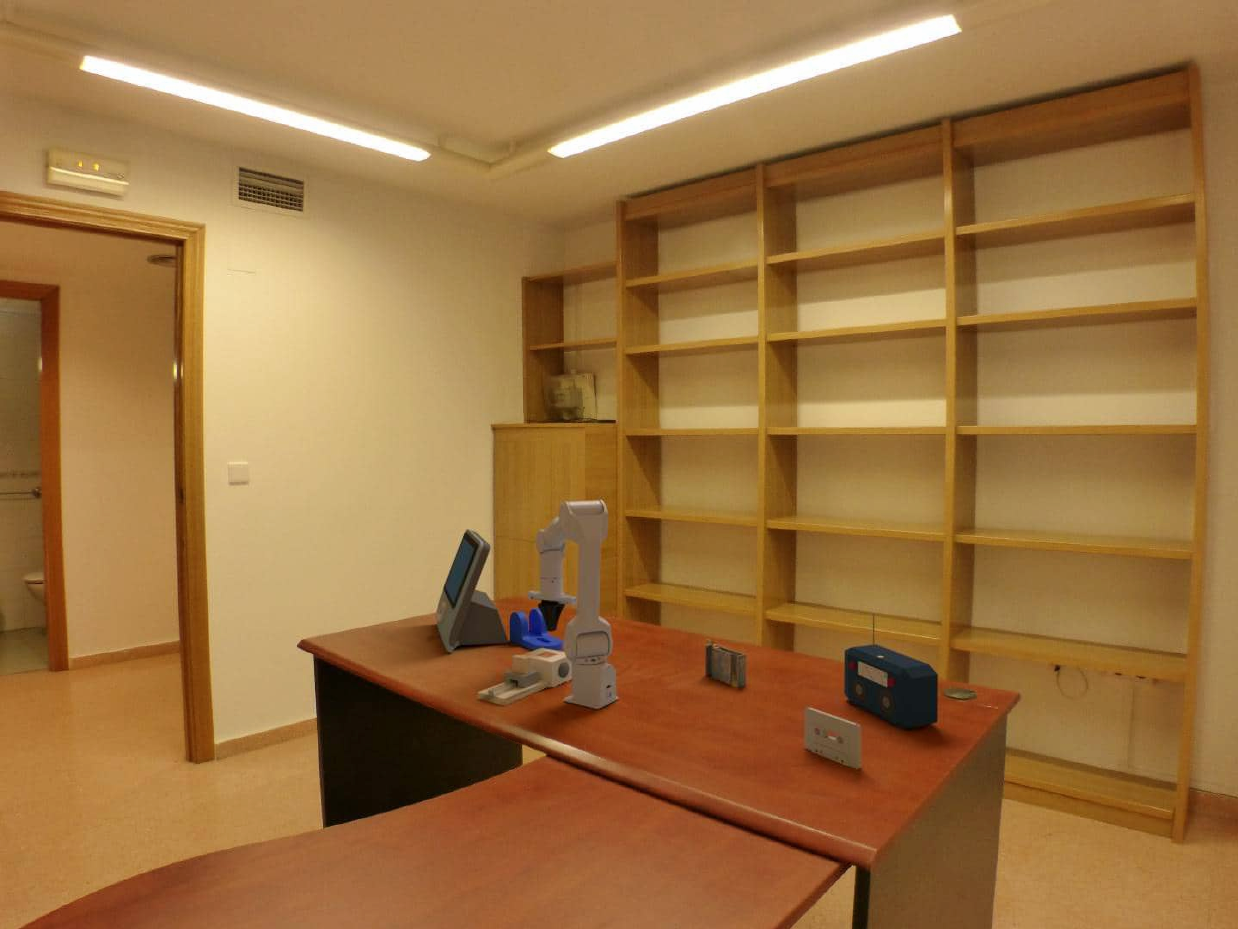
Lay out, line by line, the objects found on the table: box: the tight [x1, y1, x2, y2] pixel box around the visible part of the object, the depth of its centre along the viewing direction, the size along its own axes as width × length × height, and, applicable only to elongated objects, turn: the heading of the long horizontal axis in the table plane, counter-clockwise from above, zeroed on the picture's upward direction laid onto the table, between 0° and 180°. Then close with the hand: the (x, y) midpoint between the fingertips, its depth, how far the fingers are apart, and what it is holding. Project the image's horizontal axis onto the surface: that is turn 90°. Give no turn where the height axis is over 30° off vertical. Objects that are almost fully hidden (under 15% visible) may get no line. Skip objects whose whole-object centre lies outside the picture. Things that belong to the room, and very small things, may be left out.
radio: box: [843, 612, 939, 730], centre depth 162 cm, size 21×9×20 cm, turn 21°
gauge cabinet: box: [520, 648, 572, 688], centre depth 186 cm, size 10×8×6 cm
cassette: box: [803, 706, 862, 770], centre depth 140 cm, size 12×2×8 cm, turn 37°
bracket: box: [509, 607, 564, 651], centre depth 217 cm, size 18×8×9 cm, turn 36°
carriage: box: [503, 654, 539, 688], centre depth 179 cm, size 6×5×6 cm
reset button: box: [539, 653, 554, 658], centre depth 186 cm, size 3×3×2 cm
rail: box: [488, 680, 518, 696], centre depth 177 cm, size 2×15×1 cm, turn 145°
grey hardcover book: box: [704, 637, 747, 688], centre depth 185 cm, size 11×3×10 cm, turn 35°
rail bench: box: [477, 679, 550, 706], centre depth 177 cm, size 8×15×2 cm, turn 145°
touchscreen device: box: [433, 528, 509, 654], centre depth 227 cm, size 35×20×30 cm, turn 18°
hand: (551, 630), depth 196 cm, fingers closed
